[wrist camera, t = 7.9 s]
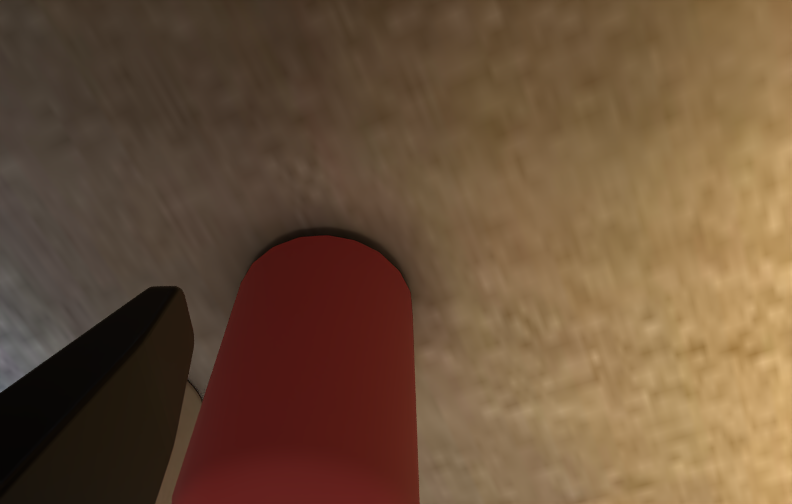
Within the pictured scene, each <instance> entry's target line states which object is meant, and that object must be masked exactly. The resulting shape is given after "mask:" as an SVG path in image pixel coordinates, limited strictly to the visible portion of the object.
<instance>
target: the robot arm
mask: <svg viewBox="0 0 792 504" xmlns="http://www.w3.org/2000/svg"><path fill="white" fill-rule="evenodd" d="M193 348H194V333H193V328H192V324H191V320H190V315H189V311H188V307H187V303H186V299H185V295H184V293H183V291H182V289H181V288H179V287H177V286H155V287H150V288H148V289H146V290H145V291H143V292H142V293H141V294H139V295H138V296H136V297H135V298H134V299H132V300H131V301H129V302H128V303H126V304H125V305H124V306H122V307H121V308H119V309H118V310H117V311H115V312H114V313H112V314H111V315H110V316H108V317H107V318H105V319H104V320H102V321H101V322H100V323H98V324H97V325H95V326H94V327H93V328H91V329H90V330H88V331H87V332H86V333H84V334H83V335H81V336H80V337H79V338H77V339H76V340H74V341H73V342H71V343H70V344H69V345H67V346H66V347H64V348H63V349H62V350H60V351H59V352H57V353H56V354H55V355H53V356H52V357H50V358H49V359H47V360H46V361H45V362H43V363H42V364H40V365H39V366H38V367H36V368H35V369H33V370H32V371H31V372H29V373H28V374H26V375H25V376H23V377H22V378H21V379H19V380H18V381H16V382H15V383H14V384H12V385H11V386H9V387H8V388H7V389H5V390H4V391H2V392H1V393H0V504H155V503H156V500H157V497H158V494H159V491H160V488H161V485H162V482H163V479H164V476H165V473H166V469H167V466H168V463H169V460H170V457H171V453H172V450H173V447H174V443H175V439H176V434H177V430H178V425H179V420H180V414H181V409H182V404H183V399H184V394H185V389H186V384H187V379H188V374H189V369H190V364H191V358H192V353H193Z"/></svg>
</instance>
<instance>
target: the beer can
mask: <svg viewBox="0 0 792 504" xmlns="http://www.w3.org/2000/svg"><path fill="white" fill-rule="evenodd" d="M172 504H420V502H419V475H418V448H417V421H416V393H415V366H414V339H413V313H412V303H411V292H410V290H409V289H408V287H407V285H406V283H405V281H404V279H403V277H402V275H401V273H400V271H399V270H398V269H397V268H396V267H395V266H393V265H392V264H391V263H390V262H389V261H388V260H387V259H386V258H385V257H384V256H383V255H382V254H381V253H380V252H378V251H376V250H374V249H372V248H370V247H368V246H366V245H364V244H362V243H359V242H357V241H355V240H351V239H345V238H340V237H335V236H330V235H321V236H308V237H298V238H296V239H293V240H290V241H288V242H285V243H282V244H280V245H277V246H274V247H273V248H271V249H270V250H269V251H267V252H266V253H265V254H264V255H262V256H261V257H260V258H259V259H257V260H256V261H255V262H254V263H252V265H251V267H250V268H249V270H248V272H247V274H246V275H245V277H244V279H243V280H242V282H241V284H240V287H239V291H238V294H237V297H236V300H235V303H234V306H233V309H232V312H231V315H230V318H229V321H228V325H227V328H226V331H225V334H224V337H223V340H222V343H221V346H220V349H219V352H218V355H217V359H216V362H215V365H214V368H213V371H212V374H211V377H210V380H209V383H208V386H207V389H206V393H205V396H204V399H203V402H202V405H201V408H200V411H199V414H198V417H197V420H196V423H195V427H194V430H193V433H192V436H191V439H190V442H189V445H188V448H187V451H186V454H185V458H184V461H183V464H182V467H181V470H180V473H179V476H178V479H177V482H176V485H175V488H174V492H173V495H172Z"/></svg>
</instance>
